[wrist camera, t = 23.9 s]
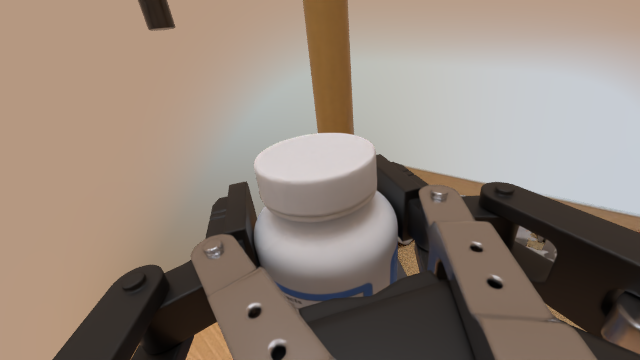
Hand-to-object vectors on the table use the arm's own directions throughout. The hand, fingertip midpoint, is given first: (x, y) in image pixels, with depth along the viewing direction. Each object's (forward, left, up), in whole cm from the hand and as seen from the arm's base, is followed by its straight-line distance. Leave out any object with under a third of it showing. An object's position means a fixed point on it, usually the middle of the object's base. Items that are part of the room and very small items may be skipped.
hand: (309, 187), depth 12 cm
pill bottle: (0, -3, -7) cm, 8 cm away
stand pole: (+3, +12, -17) cm, 22 cm away
